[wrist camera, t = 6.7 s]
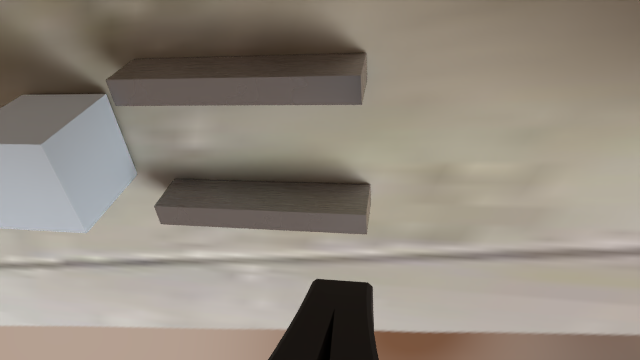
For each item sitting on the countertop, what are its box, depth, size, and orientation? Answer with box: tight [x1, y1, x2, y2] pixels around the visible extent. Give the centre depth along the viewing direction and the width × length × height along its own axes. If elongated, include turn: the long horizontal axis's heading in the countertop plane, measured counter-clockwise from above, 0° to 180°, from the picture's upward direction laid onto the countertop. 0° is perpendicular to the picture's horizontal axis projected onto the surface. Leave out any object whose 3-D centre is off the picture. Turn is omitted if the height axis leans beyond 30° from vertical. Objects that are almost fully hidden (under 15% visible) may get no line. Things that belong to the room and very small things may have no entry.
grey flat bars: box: [106, 53, 371, 234], centre depth 18 cm, size 9×7×2 cm
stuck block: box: [0, 94, 137, 233], centre depth 18 cm, size 4×4×4 cm
